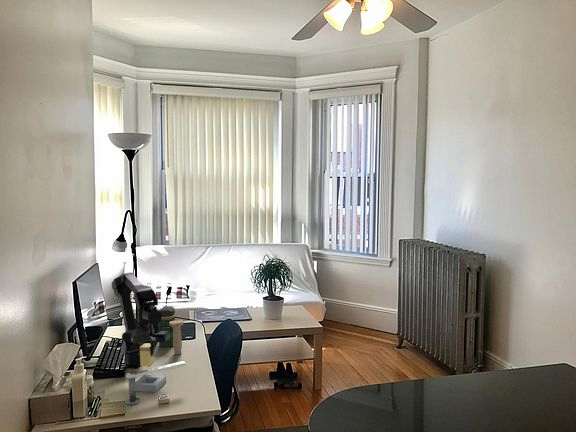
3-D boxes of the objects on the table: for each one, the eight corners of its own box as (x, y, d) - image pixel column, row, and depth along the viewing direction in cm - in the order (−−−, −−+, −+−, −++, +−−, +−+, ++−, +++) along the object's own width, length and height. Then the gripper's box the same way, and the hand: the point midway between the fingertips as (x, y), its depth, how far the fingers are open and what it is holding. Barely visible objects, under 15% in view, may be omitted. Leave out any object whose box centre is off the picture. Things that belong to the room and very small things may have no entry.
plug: (140, 366, 199) (139, 347, 199) (144, 362, 204) (144, 343, 203) (149, 366, 199) (149, 347, 198) (154, 362, 203) (153, 343, 202)
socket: (133, 390, 188) (132, 384, 188) (144, 380, 197) (143, 374, 197) (156, 391, 186) (155, 385, 186) (166, 381, 196) (165, 375, 195)
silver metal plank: (127, 379, 175) (127, 377, 175) (124, 376, 178) (124, 373, 178) (186, 366, 186) (186, 363, 186) (182, 362, 190) (182, 360, 190)
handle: (185, 354, 227) (184, 322, 225) (171, 356, 224) (170, 324, 223) (184, 350, 231) (182, 319, 230) (170, 352, 229) (168, 321, 228)
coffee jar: (174, 347, 237) (172, 309, 235) (157, 348, 236) (155, 310, 235) (177, 340, 246) (176, 304, 245) (161, 341, 246) (160, 305, 244)
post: (123, 404, 176) (121, 379, 175) (129, 398, 181) (128, 374, 180) (136, 405, 175) (135, 380, 174) (142, 399, 180) (141, 374, 179)
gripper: (114, 324, 193) (115, 362, 195) (158, 325, 190) (160, 364, 191) (127, 316, 204) (129, 352, 205) (170, 317, 201) (171, 354, 202)
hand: (147, 356), depth 201 cm, fingers closed on plug, 4 cm apart
